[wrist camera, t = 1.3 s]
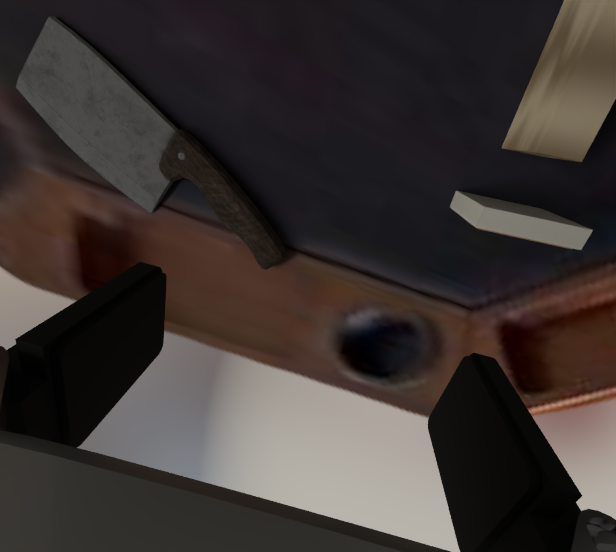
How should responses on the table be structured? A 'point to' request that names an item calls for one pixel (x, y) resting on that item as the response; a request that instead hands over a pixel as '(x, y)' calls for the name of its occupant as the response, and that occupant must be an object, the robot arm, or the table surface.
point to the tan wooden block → (569, 84)
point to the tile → (519, 221)
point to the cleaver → (131, 135)
